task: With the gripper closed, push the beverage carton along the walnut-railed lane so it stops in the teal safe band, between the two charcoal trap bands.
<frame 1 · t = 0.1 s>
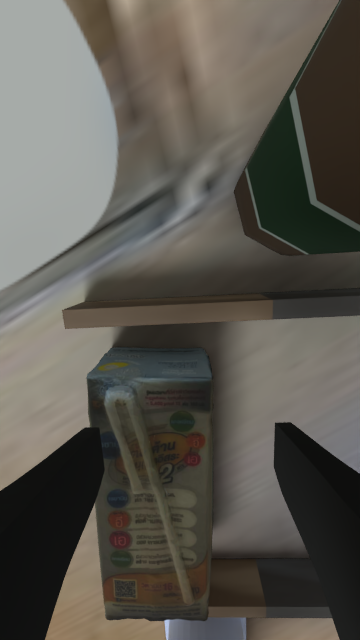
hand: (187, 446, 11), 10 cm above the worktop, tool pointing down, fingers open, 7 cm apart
beer bottle: (287, 198, 18), on the worktop
beverage carton: (161, 447, 23), on the worktop
trap lane: (337, 446, 22), on the worktop
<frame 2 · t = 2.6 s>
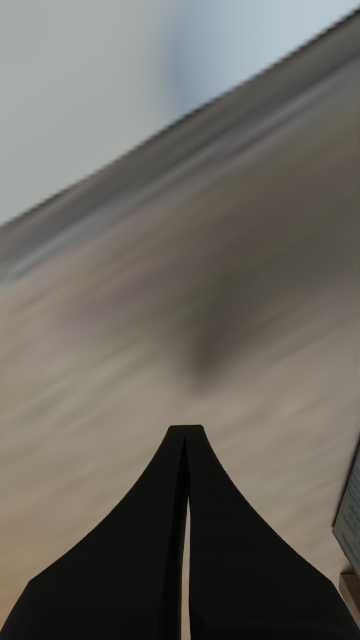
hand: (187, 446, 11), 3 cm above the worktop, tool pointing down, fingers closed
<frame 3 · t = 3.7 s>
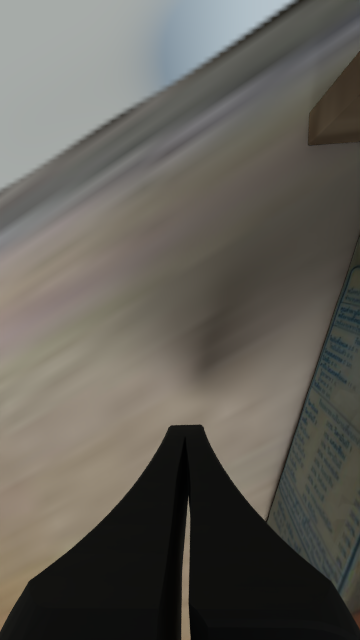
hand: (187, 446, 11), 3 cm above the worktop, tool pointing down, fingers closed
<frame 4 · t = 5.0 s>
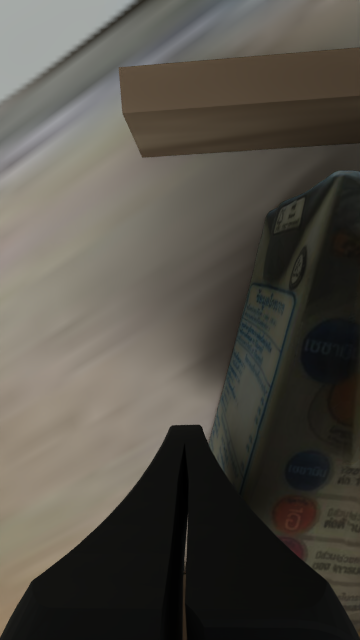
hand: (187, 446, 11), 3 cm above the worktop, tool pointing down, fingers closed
beverage carton: (287, 406, 14), on the worktop, touching gripper
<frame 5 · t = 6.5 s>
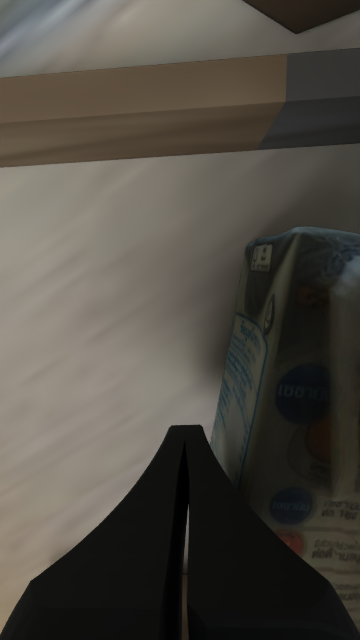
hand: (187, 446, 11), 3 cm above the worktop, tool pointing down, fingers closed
beverage carton: (280, 425, 15), on the worktop
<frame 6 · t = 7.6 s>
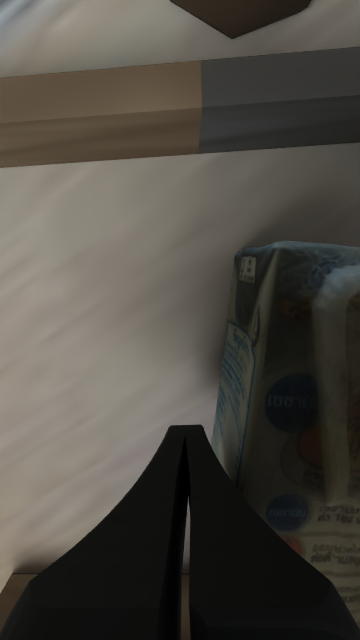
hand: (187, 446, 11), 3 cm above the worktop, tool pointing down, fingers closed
beverage carton: (279, 428, 15), on the worktop
trap lane: (333, 398, 14), on the worktop
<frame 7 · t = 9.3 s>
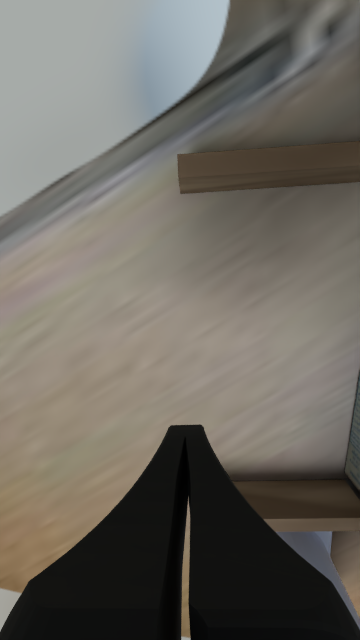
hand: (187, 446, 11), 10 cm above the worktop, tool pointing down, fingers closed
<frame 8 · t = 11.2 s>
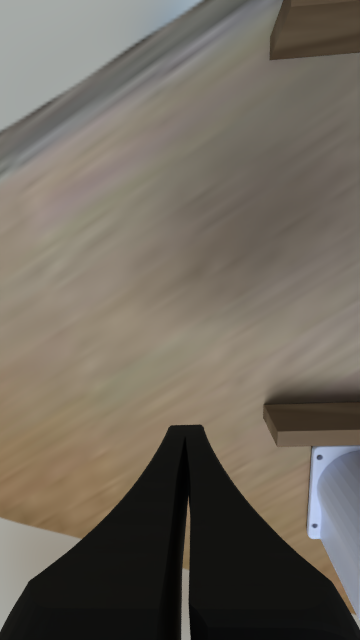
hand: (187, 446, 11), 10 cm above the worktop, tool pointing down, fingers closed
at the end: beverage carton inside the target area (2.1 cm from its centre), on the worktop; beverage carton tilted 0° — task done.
